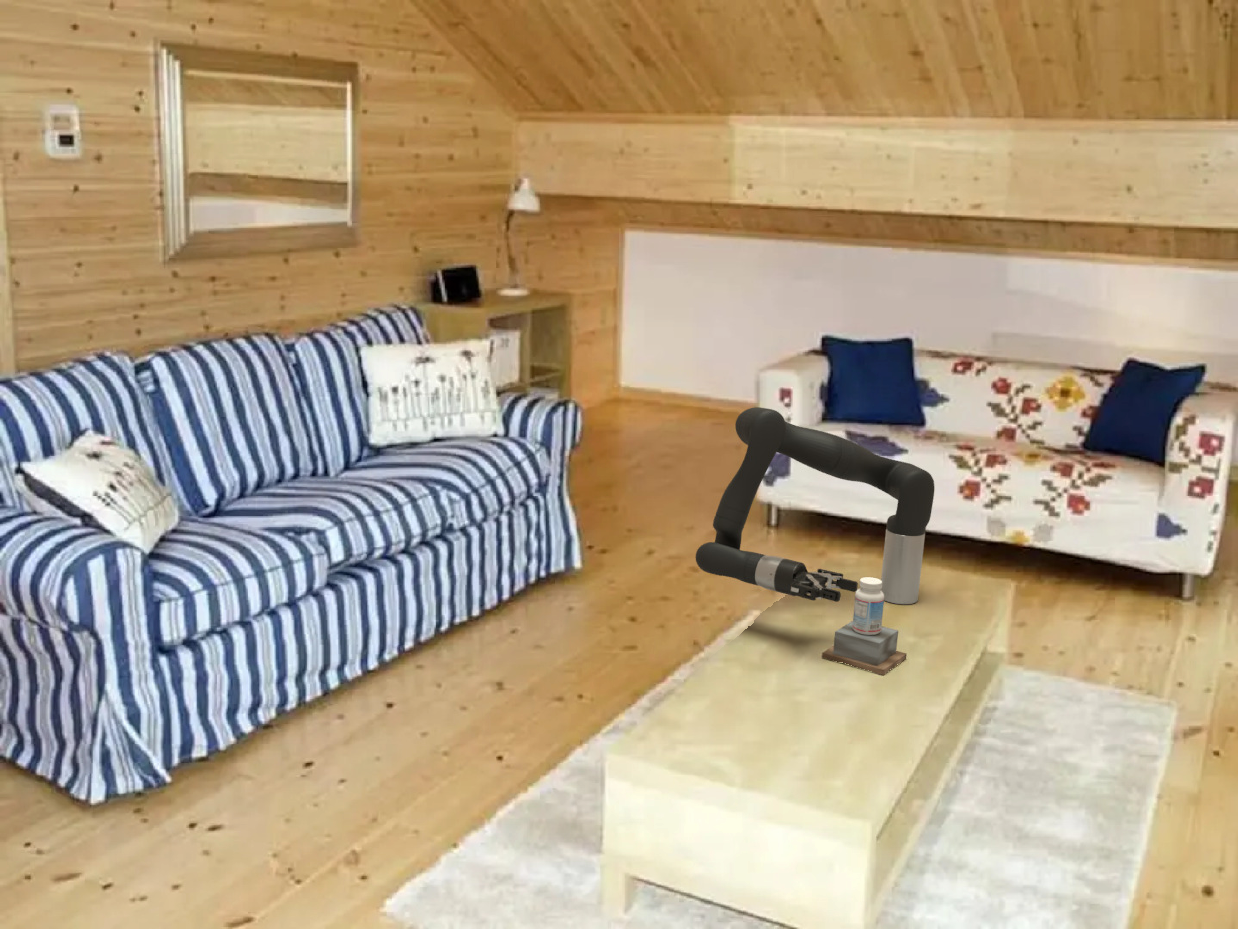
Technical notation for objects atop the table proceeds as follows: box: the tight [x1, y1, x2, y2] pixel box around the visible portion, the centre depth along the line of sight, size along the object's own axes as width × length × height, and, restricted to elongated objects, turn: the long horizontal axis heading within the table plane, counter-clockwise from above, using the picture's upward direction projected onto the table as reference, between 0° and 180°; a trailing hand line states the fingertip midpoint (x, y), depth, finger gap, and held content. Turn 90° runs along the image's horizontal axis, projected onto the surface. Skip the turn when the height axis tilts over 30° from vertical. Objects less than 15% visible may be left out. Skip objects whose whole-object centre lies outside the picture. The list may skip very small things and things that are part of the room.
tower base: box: [821, 620, 908, 676], centre depth 270 cm, size 12×14×6 cm
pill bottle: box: [852, 576, 885, 635], centre depth 268 cm, size 6×6×11 cm
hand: (848, 592), depth 270 cm, fingers open, 8 cm apart
